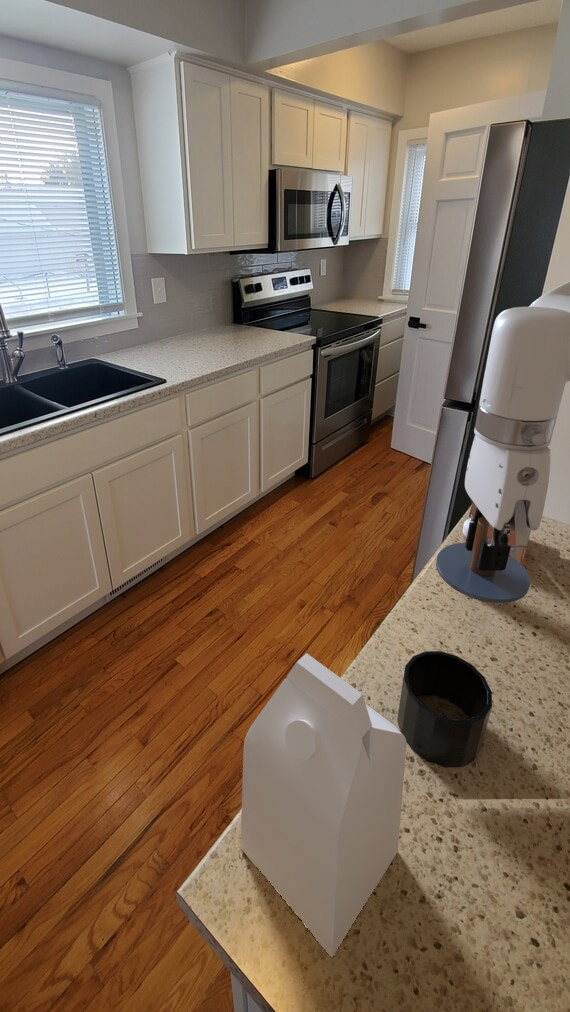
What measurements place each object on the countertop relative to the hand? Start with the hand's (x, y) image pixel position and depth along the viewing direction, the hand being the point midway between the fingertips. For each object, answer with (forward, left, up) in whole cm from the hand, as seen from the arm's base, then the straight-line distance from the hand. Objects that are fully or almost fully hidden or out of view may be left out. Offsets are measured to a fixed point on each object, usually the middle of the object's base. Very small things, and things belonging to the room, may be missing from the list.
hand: (484, 557), depth 61 cm
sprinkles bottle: (-8, -19, -22) cm, 30 cm away
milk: (+23, +20, -22) cm, 37 cm away
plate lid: (0, 0, -2) cm, 2 cm away
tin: (+6, +7, -22) cm, 24 cm away
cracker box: (-20, -28, -22) cm, 41 cm away
